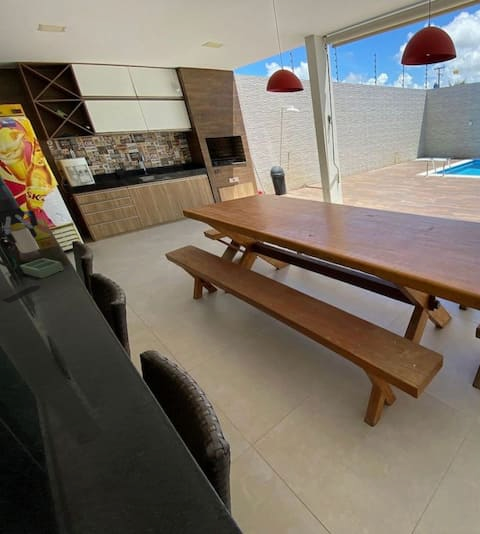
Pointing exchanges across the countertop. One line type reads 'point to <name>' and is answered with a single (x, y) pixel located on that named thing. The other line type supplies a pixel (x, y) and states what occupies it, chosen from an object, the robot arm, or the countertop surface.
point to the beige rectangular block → (24, 240)
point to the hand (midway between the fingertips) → (24, 239)
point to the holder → (42, 268)
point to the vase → (30, 256)
